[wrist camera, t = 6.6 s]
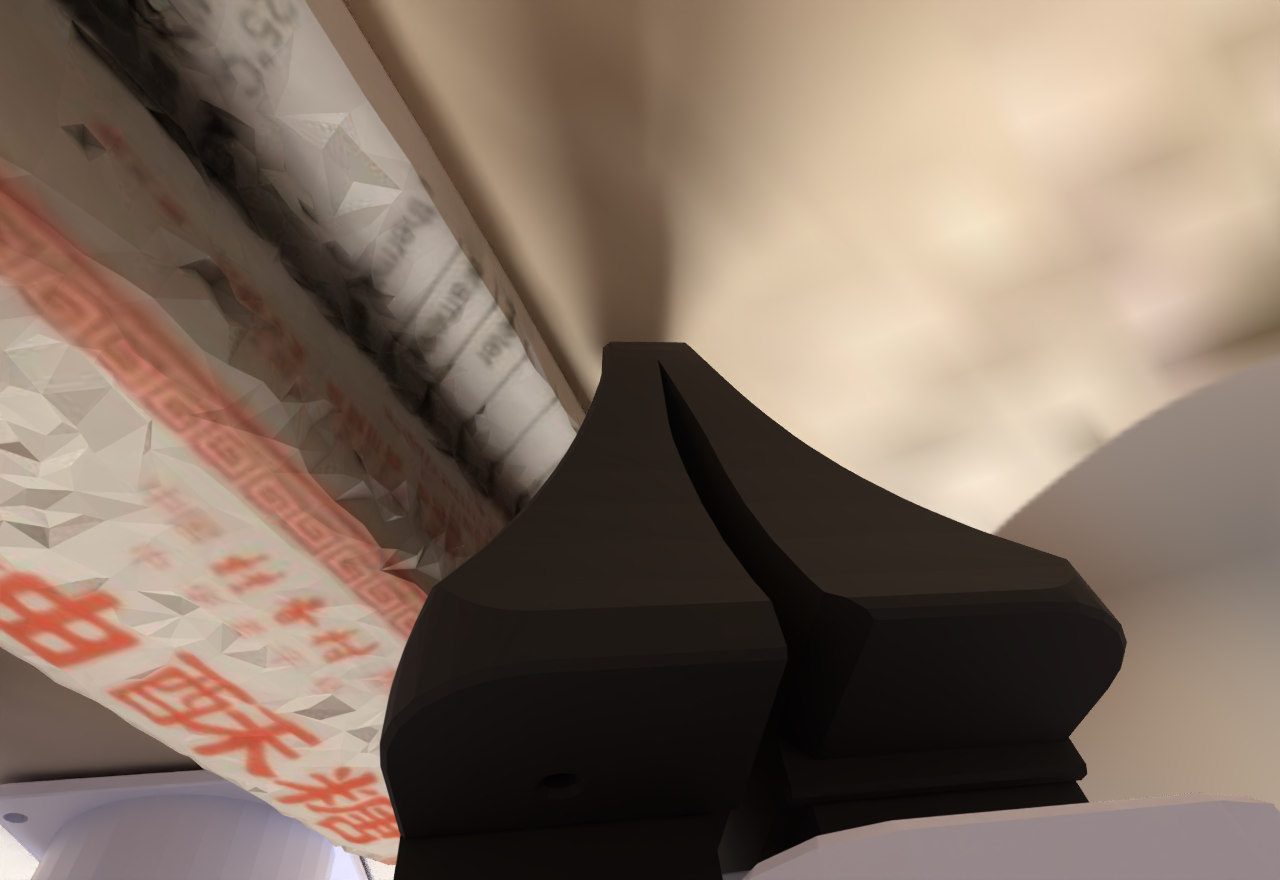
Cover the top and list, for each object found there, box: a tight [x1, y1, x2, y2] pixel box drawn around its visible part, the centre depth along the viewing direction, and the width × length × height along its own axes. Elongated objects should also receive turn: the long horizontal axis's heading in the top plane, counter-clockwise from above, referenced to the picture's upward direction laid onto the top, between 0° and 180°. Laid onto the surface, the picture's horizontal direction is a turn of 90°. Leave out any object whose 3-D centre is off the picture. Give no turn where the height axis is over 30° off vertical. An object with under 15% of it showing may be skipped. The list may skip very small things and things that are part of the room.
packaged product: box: [0, 0, 586, 865], centre depth 11 cm, size 18×5×10 cm
